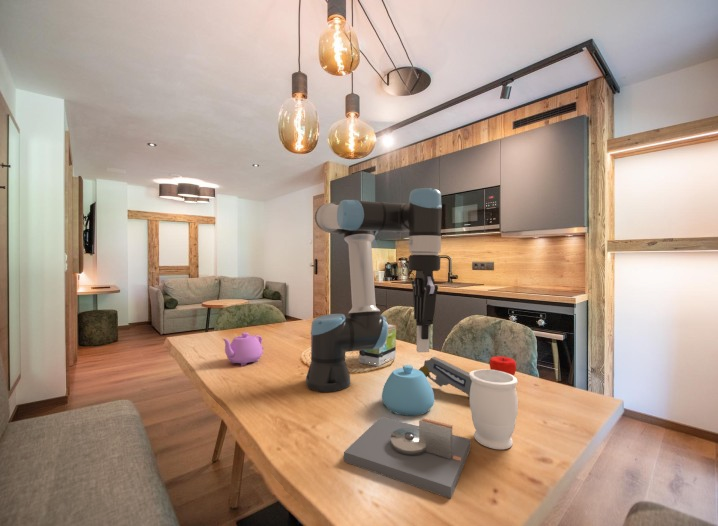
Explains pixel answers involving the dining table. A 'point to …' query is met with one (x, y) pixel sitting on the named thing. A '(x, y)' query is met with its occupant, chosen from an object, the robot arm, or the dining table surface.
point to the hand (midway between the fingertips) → (422, 351)
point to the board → (408, 459)
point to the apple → (503, 364)
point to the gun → (447, 374)
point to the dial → (424, 439)
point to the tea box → (381, 350)
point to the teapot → (244, 349)
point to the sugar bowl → (408, 392)
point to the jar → (493, 407)
